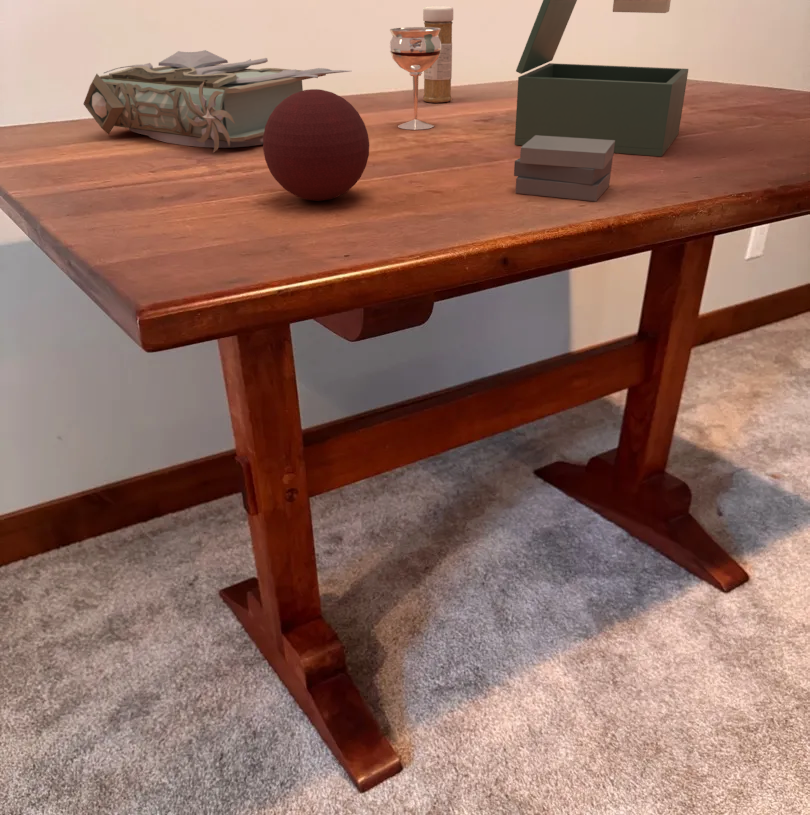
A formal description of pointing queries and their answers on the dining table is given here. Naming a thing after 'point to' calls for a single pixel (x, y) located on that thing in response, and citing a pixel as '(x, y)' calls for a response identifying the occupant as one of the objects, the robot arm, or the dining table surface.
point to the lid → (546, 34)
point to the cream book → (642, 6)
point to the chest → (602, 105)
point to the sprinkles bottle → (441, 70)
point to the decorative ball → (316, 145)
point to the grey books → (564, 167)
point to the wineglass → (415, 59)
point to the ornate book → (195, 99)
